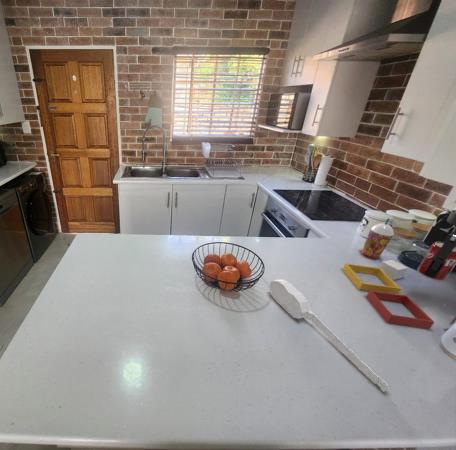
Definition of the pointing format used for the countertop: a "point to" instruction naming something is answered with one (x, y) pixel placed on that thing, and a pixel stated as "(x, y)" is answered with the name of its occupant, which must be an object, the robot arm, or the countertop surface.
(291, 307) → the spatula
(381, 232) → the smoothie
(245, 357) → the countertop surface
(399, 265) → the white cube
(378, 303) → the red bin
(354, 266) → the yellow bin
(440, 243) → the soda can
